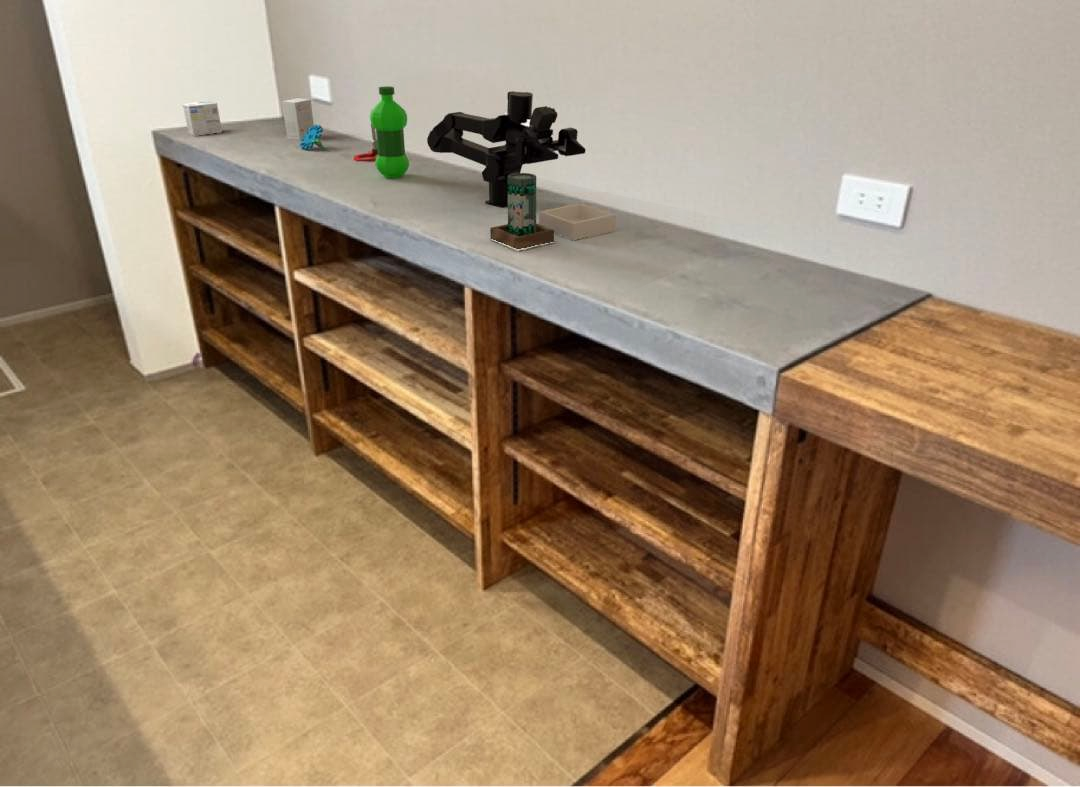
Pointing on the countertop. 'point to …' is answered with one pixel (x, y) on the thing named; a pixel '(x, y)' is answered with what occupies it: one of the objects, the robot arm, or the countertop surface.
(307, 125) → the small box
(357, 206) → the countertop surface
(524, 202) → the can
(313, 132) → the blue flower bunch
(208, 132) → the light bulb box
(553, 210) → the bin
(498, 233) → the holder
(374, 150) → the tow hook
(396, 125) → the plastic bottle
